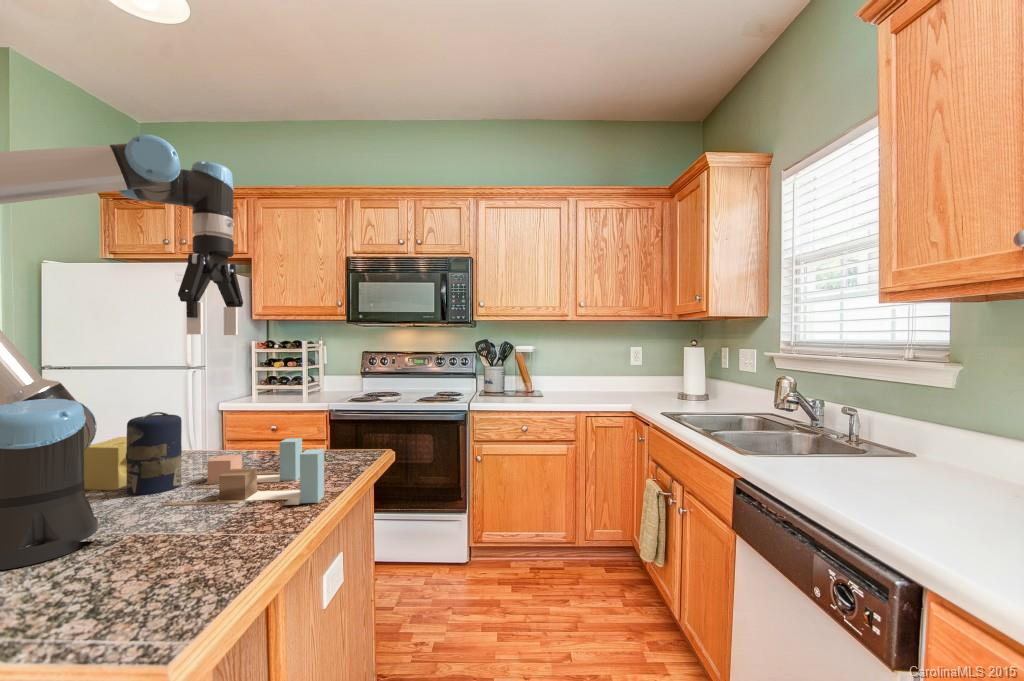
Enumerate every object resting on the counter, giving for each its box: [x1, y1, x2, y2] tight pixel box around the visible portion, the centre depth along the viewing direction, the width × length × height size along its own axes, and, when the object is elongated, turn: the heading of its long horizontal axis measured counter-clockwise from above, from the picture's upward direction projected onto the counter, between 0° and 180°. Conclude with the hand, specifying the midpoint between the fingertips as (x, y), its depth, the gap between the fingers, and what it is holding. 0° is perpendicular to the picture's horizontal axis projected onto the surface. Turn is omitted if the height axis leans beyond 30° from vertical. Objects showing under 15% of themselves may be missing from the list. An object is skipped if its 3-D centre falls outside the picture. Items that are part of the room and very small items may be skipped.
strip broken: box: [204, 437, 303, 485], centre depth 106 cm, size 6×20×10 cm, turn 94°
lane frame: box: [162, 471, 280, 507], centre depth 100 cm, size 21×14×2 cm, turn 4°
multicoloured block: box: [216, 448, 325, 506], centre depth 95 cm, size 6×20×10 cm, turn 94°
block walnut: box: [218, 467, 258, 501], centre depth 94 cm, size 5×5×5 cm
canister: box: [126, 411, 183, 497], centre depth 100 cm, size 10×10×18 cm
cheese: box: [84, 436, 127, 491], centre depth 108 cm, size 10×11×10 cm
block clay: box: [206, 454, 243, 483], centre depth 106 cm, size 5×5×5 cm
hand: (214, 335), depth 100 cm, fingers open, 13 cm apart
